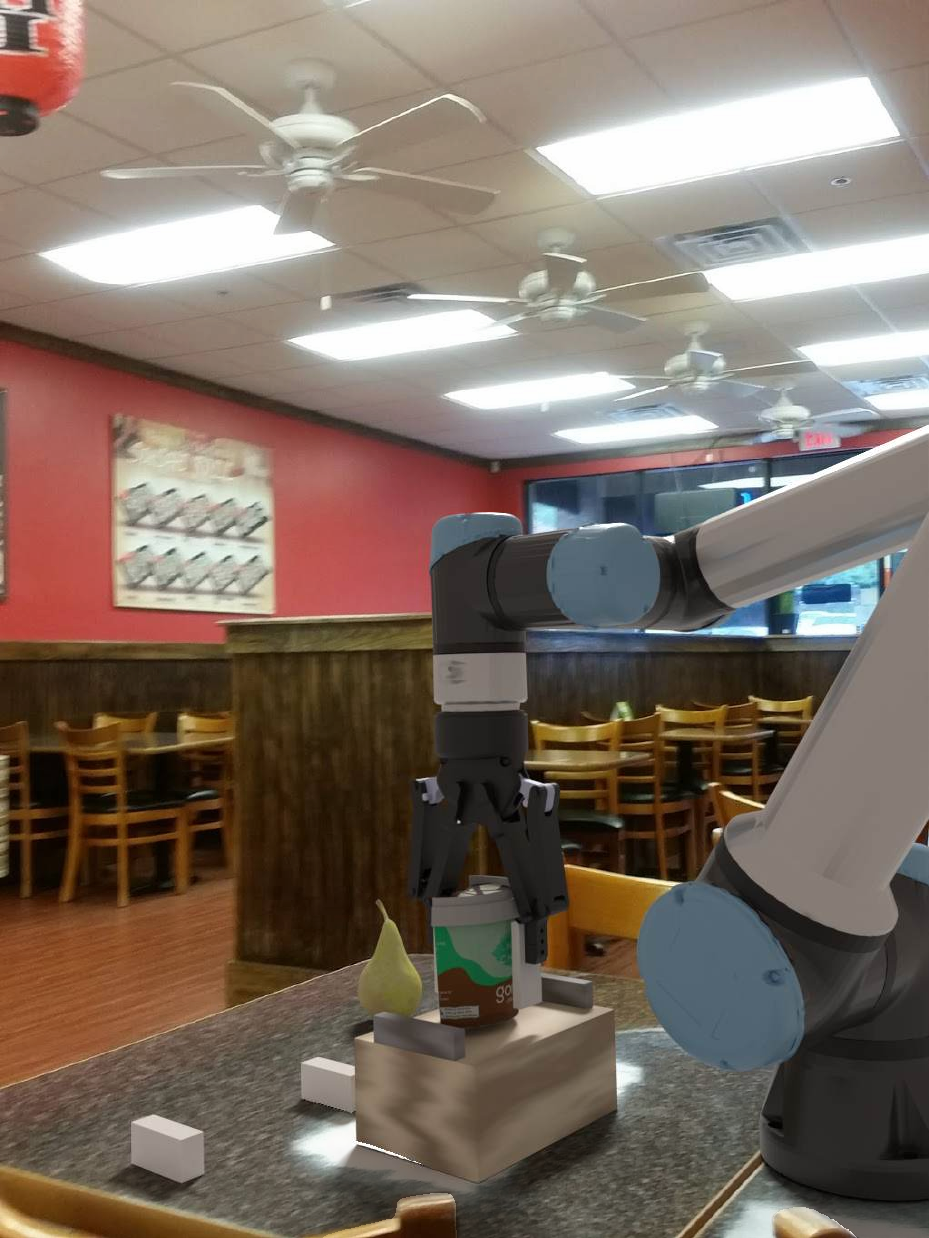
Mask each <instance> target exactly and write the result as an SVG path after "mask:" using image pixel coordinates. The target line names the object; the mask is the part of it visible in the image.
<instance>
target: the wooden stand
mask: <svg viewBox="0 0 929 1238" xmlns="http://www.w3.org/2000/svg"><path fill="white" fill-rule="evenodd" d="M541 981H542V1002H540V1003H537V1004H535V1005H532V1006H529V1007H527V1008H524V1009H519V1012H518V1014H517V1015H516V1016H515V1017H514V1018H512V1019H510V1020H508V1021H505V1022H501V1023H498V1024H494V1025H488V1026H482V1027H476V1028H458V1027H453V1026H448V1025H444V1024H440V1010H439V1008H437V1009H435V1010H432V1011H428V1012H425V1013H423V1014H422V1013H421V1014H420V1015H417V1016H413V1017H412V1016H411V1017H406V1016H402V1015H397V1014H392V1013H388V1012H382V1013H379V1014H376V1015H373V1019H372V1022H373V1023H372V1024H373V1026H372V1027H373V1031H371V1032H368V1033H365V1034H362V1035H359V1036H356V1037H354V1039H353V1044H354V1045H353V1050H354V1066H355V1108H356V1112H355V1142H356V1141H358V1142H362V1143H366V1144H370V1145H373V1146H376V1147H378V1148H381V1149H384V1150H386V1151H390V1152H393V1153H395V1154H398V1155H401V1156H403V1157H406V1158H407V1159H409V1160H411V1161H416V1162H418V1163H421V1164H423V1165H426V1166H428V1167H427V1168H429V1167H430V1169H432V1168H433V1170H436V1171H438V1172H439V1171H440V1172H442V1173H444V1174H445V1173H446V1174H448V1175H451V1176H454V1177H458V1178H460V1179H464V1180H467V1181H470V1182H473V1183H477V1184H479V1183H481V1182H483V1181H485V1180H486V1179H489V1178H490V1177H493V1176H494V1175H496V1174H498V1173H500V1172H502V1171H503V1170H505V1169H507V1168H509V1167H511V1166H513V1165H516V1164H517V1163H519V1162H521V1161H522V1160H525V1159H526V1158H528V1157H530V1156H532V1155H533V1154H536V1153H537V1152H539V1151H541V1150H543V1149H544V1148H547V1147H549V1146H550V1145H553V1144H554V1143H556V1142H558V1141H560V1140H562V1139H563V1138H565V1137H567V1136H569V1135H571V1134H573V1133H574V1132H576V1131H579V1130H580V1129H583V1128H584V1127H586V1126H588V1125H590V1124H592V1123H593V1122H595V1121H598V1120H599V1119H601V1118H603V1117H605V1116H607V1115H609V1114H610V1113H612V1112H615V1111H616V1110H617V1109H618V1086H617V1085H618V1084H617V1080H618V1079H617V1052H616V1045H617V1044H616V1021H615V1020H616V1018H615V1015H616V1014H615V1009H614V1008H610V1007H605V1006H604V1007H603V1006H599V1005H594V989H593V987H594V985H593V984H594V983H593V980H587V979H581V978H574V977H569V976H565V975H564V976H563V975H557V974H551V973H544V972H541ZM423 1165H422V1166H423ZM426 1166H425V1167H426Z"/></svg>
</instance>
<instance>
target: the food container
mask: <svg viewBox="0 0 929 1238" xmlns="http://www.w3.org/2000/svg"><path fill="white" fill-rule="evenodd" d="M517 917H520V916H519V912H518V909H517V906H516V903H515V900H514V897H513V894H512V891H511V888H510V885H509V881H508V878H507V877H505V876H496V875H495V876H493V875H468V887H467V888H466V889H464V890H461V891H460V890H458V891H457V890H456V892H454V893H453V894H452V895H451V896H450V897H447V898H432V916H431V926H432V927H434V935H435V950H436V965H437V980H438V993H437V994H438V1005H439V1006H438V1007H439V1008H438V1009H439V1010H440V1024H444V1025H448V1026H453V1027H458V1028H476V1027H482V1026H488V1025H494V1024H498V1023H501V1022H505V1021H508V1020H510V1019H512V1018H514V1017H515V1016H516V1015H517V1014H518V1012H519V1009H516V1008H513V975H512V936H511V922H514V921H515V920H514V918H517Z"/></svg>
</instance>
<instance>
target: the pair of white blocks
mask: <svg viewBox="0 0 929 1238" xmlns="http://www.w3.org/2000/svg"><path fill="white" fill-rule="evenodd" d="M300 1078H301V1080H300V1081H301V1082H300V1084H301V1086H300V1087H301V1089H300V1090H301V1092H300V1093H301V1099H302V1100H304V1099H305V1101H308V1102H312V1103H315V1102H316V1103H315V1104H318V1103H321V1104H324V1105H323V1106H325V1105H327V1106H326V1107H328V1106H331V1107H334V1108H333V1109H335V1108H337V1109H336V1110H338V1109H341V1110H340V1111H342V1110H344V1111H343V1112H345V1111H348V1112H353V1111H355V1110H356V1108H355V1065H351V1064H347V1063H343V1062H340V1061H335V1060H333V1059H328V1058H324V1057H320V1056H317V1057H314V1058H311V1059H308V1060H304V1061H303V1062H300ZM321 1104H320V1105H321ZM331 1107H330V1108H331ZM348 1112H347V1113H348ZM130 1133H131V1134H130V1138H131V1139H130V1140H131V1142H130V1146H131V1147H130V1148H131V1149H130V1151H131V1157H130V1158H131V1160H130V1161H131V1162H130V1163H131V1164H132V1165H134V1166H137V1167H140V1168H142V1169H144V1170H147V1171H150V1172H153V1173H154V1174H157V1175H160V1176H162V1177H164V1178H166V1179H170V1180H172V1181H175V1182H176V1183H180V1184H183V1183H186V1182H188V1181H191V1180H193V1179H195V1178H198V1177H200V1176H203V1175H205V1138H204V1137H205V1134H204V1131H203V1130H200V1129H196V1128H193V1127H191V1126H188V1125H185V1124H182V1123H180V1122H178V1121H174V1120H171V1119H168V1118H165V1117H162V1116H159V1115H156V1114H153V1113H152V1114H151V1115H148V1116H144V1117H142V1118H139V1119H137V1120H133V1121H131V1122H130Z"/></svg>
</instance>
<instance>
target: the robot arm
mask: <svg viewBox="0 0 929 1238" xmlns="http://www.w3.org/2000/svg"><path fill="white" fill-rule="evenodd" d="M430 538H431V539H430V559H429V560H430V561H429V565H428V575H429V577H430V579H429V580H430V596H431V597H430V598H431V599H430V602H431V603H430V604H431V630H432V636H431V637H432V667H433V669H432V670H433V671H432V672H433V676H432V677H433V701H434V703H435V704H436V705H441V711H437V712H436V713H435V715H433V736H434V738H433V740H434V753H435V755H436V756H437V757H438V758H439V759H440V765H439V769H438V771H437V774H436V776H434V777H433V776H431V777H425V778H423V777H422V778H415V779H412V780H411V781H410V782H409V791H410V796H411V797H410V799H411V803H412V807H413V808H412V822H411V834H410V844H409V845H410V847H409V858H408V859H409V860H408V869H407V870H408V873H407V884H406V894H407V897H408V898H409V899H412V900H418V901H419V902H421V903H423V905H424V907H425V909H426V911H427V941H428V945H429V948H430V949H433V971H434V974H433V976H434V993H435V994H438V980H437V965H436V950H435V935H434V927H432V926H431V916H432V898H447V897H450V896H451V895H452V894H453V893H454V892H457V889H458V886H459V881H460V878H461V875H462V874H461V873H462V871H463V868H464V864H465V861H466V857H467V854H468V850H469V846H470V843H471V840H472V836H473V834H474V833H475V831H476V830H477V829H478V827H479V826H482V827H486V829H487V832H488V835H489V837H490V838H492V839H493V840H494V841H495V844H496V846H497V850H498V853H499V857H500V859H501V862H502V866H503V869H504V872H505V874H506V878H508V881H509V885H510V888H511V891H512V894H513V897H514V900H515V903H516V906H517V909H518V912H519V916H520V917H517V918H514V920H515V921H514V922H511V936H512V975H513V1008H516V1009H524V1008H527V1007H529V1006H532V1005H535V1004H537V1003H540V1002H542V981H541V973H542V964H543V963H545V962H546V961H547V959H548V956H549V948H548V946H549V945H548V943H549V942H548V938H549V937H548V935H549V934H548V921H549V919H550V918H551V917H552V916H555V915H557V914H561V913H565V912H566V911H568V910H569V908H570V900H569V899H570V897H569V890H568V883H567V882H568V881H567V875H566V870H565V859H564V854H563V848H562V846H563V845H562V839H561V833H560V832H561V831H560V824H559V819H558V817H559V816H558V809H559V804H560V797H561V788H560V785H559V784H558V783H556V782H549V783H542V782H540V781H536V780H532V779H530V776H529V774H528V772H527V769H526V766H525V758H526V756H527V753H528V751H529V732H528V731H529V727H528V726H529V725H528V721H529V719H528V713H526V712H525V710H524V709H520V708H521V707H520V706H521V703H526V701H527V700H528V681H527V680H528V678H527V673H528V672H527V654H526V652H527V650H526V648H527V647H526V643H527V642H526V639H527V638H526V632H531V631H545V630H548V631H549V630H573V629H575V630H576V629H578V630H579V629H580V630H581V629H582V630H583V629H586V630H587V629H589V630H590V629H591V630H592V629H593V630H642V631H643V630H645V631H646V630H647V631H649V630H650V631H673V632H678V633H693V632H699V631H702V630H703V631H705V630H710V629H711V630H712V629H715V628H718V627H720V626H722V625H724V624H725V623H727V622H728V621H729V620H730V619H731V618H732V617H733V616H734V614H736V612H737V610H738V609H742V608H744V607H747V606H750V605H752V604H755V603H758V602H761V601H764V600H766V599H769V598H772V597H774V596H777V595H781V594H783V593H786V592H789V591H791V590H795V589H798V588H800V587H803V586H805V585H808V584H812V583H814V582H817V581H819V580H823V579H827V578H829V577H831V576H834V575H836V574H840V573H842V572H846V571H848V570H851V569H854V568H856V567H859V566H862V565H865V564H869V563H870V562H874V561H876V560H879V559H882V558H885V557H888V556H891V555H894V554H896V553H899V552H901V551H904V550H906V551H905V553H904V554H903V557H902V559H900V560H901V561H900V562H899V564H898V566H897V567H896V570H895V571H894V573H893V575H892V577H891V578H890V580H889V582H888V584H887V586H886V587H885V589H884V591H883V593H882V594H881V596H880V598H879V600H878V602H877V604H876V606H875V607H874V609H873V611H872V612H871V615H870V616H869V618H868V620H867V621H866V623H865V625H864V627H863V628H862V631H861V633H860V634H859V636H858V637H857V639H856V641H855V644H854V645H853V647H852V649H851V651H850V652H849V654H848V656H847V658H845V661H844V663H843V665H842V667H841V668H840V670H839V672H838V674H837V676H836V677H835V678H834V681H833V683H832V684H831V686H830V689H829V690H828V692H827V693H826V695H825V698H824V699H823V700H822V703H821V705H820V706H819V708H818V710H817V712H816V713H815V715H814V717H813V719H812V721H811V722H810V724H809V726H808V728H807V730H806V731H805V732H804V735H803V737H802V739H801V741H800V743H799V744H798V745H797V748H796V749H795V751H794V753H793V755H792V757H791V758H790V760H789V762H788V764H787V766H786V768H785V769H784V771H783V773H782V774H781V777H780V779H779V780H778V782H777V784H776V786H775V787H774V789H773V791H772V793H771V794H770V796H769V798H768V800H767V801H766V803H765V805H764V806H763V807H764V808H762V809H761V810H756V811H751V812H747V813H746V812H745V813H740V814H737V815H735V816H734V817H732V818H731V819H730V820H729V822H727V825H726V826H725V827H724V829H723V830H722V833H721V834H720V836H719V838H718V840H717V842H715V845H714V846H713V849H712V851H711V852H710V855H709V856H708V858H707V860H706V862H705V863H704V865H703V867H702V869H701V871H700V872H699V874H698V876H697V877H696V878H695V880H694V881H685V882H682V883H678V884H675V885H674V886H672V887H671V888H670V890H668V891H666V892H664V893H662V894H661V895H659V896H658V898H656V899H655V900H654V902H653V903H651V905H650V906H649V908H648V909H647V911H646V912H645V914H644V917H643V919H642V922H641V923H640V924H641V925H640V927H639V932H638V936H637V942H636V943H637V945H636V946H637V947H636V959H637V969H638V975H639V976H640V978H641V979H642V980H643V983H644V986H645V992H644V995H645V997H646V1000H647V1004H649V1008H651V1009H650V1010H652V1013H653V1015H654V1016H655V1018H656V1020H657V1021H658V1023H659V1024H660V1026H661V1027H662V1028H663V1030H664V1032H666V1034H667V1035H668V1036H669V1037H670V1039H672V1040H673V1041H674V1043H675V1044H676V1045H678V1047H679V1048H681V1049H682V1050H683V1051H685V1053H687V1054H688V1055H690V1056H691V1057H692V1058H694V1059H696V1060H698V1061H699V1062H700V1063H702V1064H705V1065H707V1066H710V1067H711V1068H715V1069H718V1070H720V1071H721V1070H722V1071H728V1072H737V1073H741V1072H743V1073H744V1072H748V1071H753V1070H757V1069H760V1068H768V1067H773V1070H772V1074H771V1077H770V1081H769V1084H768V1087H767V1090H766V1094H765V1097H764V1099H763V1100H764V1101H763V1104H762V1108H761V1110H760V1115H759V1122H758V1126H759V1127H758V1129H759V1150H760V1155H761V1157H762V1158H763V1160H764V1161H765V1162H766V1164H767V1163H768V1164H767V1165H769V1166H770V1168H772V1169H773V1170H774V1171H776V1172H777V1171H778V1173H779V1174H781V1173H782V1174H783V1175H782V1174H781V1175H782V1176H784V1177H786V1176H787V1179H790V1180H792V1181H794V1182H797V1183H799V1184H802V1185H804V1186H806V1187H811V1188H814V1189H816V1190H821V1191H823V1192H827V1193H831V1194H836V1195H841V1196H846V1197H852V1198H860V1199H867V1198H868V1199H867V1200H879V1201H880V1200H881V1201H918V1200H920V1201H921V1200H929V846H927V845H926V844H923V843H918V842H916V841H917V839H918V837H919V836H920V834H921V833H922V831H923V829H924V827H925V826H926V825H927V822H929V424H928V425H926V426H924V427H922V428H919V429H917V430H915V431H911V432H910V433H907V434H905V435H902V436H900V437H898V438H896V439H894V440H891V441H889V442H887V443H884V444H882V445H879V446H876V447H875V448H872V449H870V450H867V451H865V452H863V453H861V454H860V453H859V455H856V456H853V457H851V458H849V459H846V460H844V461H841V462H839V463H837V464H834V465H832V466H830V467H828V468H826V469H823V470H820V471H818V472H815V473H813V474H810V475H809V476H807V477H804V478H802V479H800V480H797V481H795V482H792V483H790V484H788V485H786V486H783V487H782V488H781V487H780V488H779V489H776V490H773V491H772V492H769V493H766V494H765V495H761V496H760V497H757V498H755V499H753V500H750V501H749V502H745V503H744V504H741V505H738V506H736V507H734V508H732V509H729V510H727V511H725V512H723V513H721V514H720V513H719V514H718V515H715V516H713V517H710V518H708V519H707V520H705V521H703V522H701V523H698V524H696V525H693V526H691V527H688V528H686V529H684V530H681V531H679V532H677V533H673V534H671V535H667V536H652V535H643V534H642V533H641V532H640V530H639V529H638V528H637V527H636V526H634V525H631V524H629V523H624V522H623V523H622V522H618V523H617V522H616V523H596V522H591V523H582V524H581V525H580V526H575V527H570V528H563V529H556V530H555V529H554V530H550V531H542V532H536V533H531V534H530V533H529V534H524V532H523V525H522V522H521V520H520V519H519V518H518V517H517V516H515V515H514V514H510V513H505V512H504V513H503V512H502V513H501V512H471V513H458V514H451V515H447V516H444V517H441V518H440V519H438V520H436V522H435V523H434V525H433V527H432V529H431V537H430ZM443 799H444V800H445V801H446V804H445V806H444V804H443ZM523 799H524V800H523ZM521 803H522V806H523V807H524V808H526V818H525V815H524V812H523V809H522V807H521ZM526 831H527V833H528V834H527V833H526ZM527 836H528V837H527Z"/></svg>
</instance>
